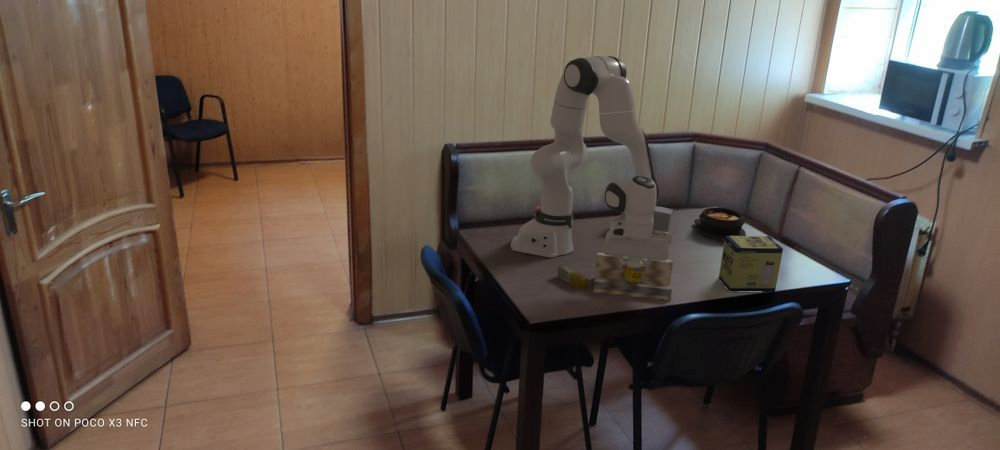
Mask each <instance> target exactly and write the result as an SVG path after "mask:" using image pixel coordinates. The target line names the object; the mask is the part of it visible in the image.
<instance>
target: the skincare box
mask: <svg viewBox="0 0 1000 450" xmlns="http://www.w3.org/2000/svg"><path fill="white" fill-rule="evenodd" d="M673 213H674V209H672V208H667V207H665V206H664V207H663V206H658V205H656V208H655V211H654V213H653V218H654V223H653V230H655V231H661V232H663V231H665V232H667V233H669V234H670V229H671V225H672V218H673ZM652 234H653V233H652ZM667 235H668V234H667Z"/></svg>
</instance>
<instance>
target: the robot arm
mask: <svg viewBox="0 0 1000 450" xmlns="http://www.w3.org/2000/svg"><path fill="white" fill-rule="evenodd" d="M627 74H628V73H627V67H626V64H625V63H624V61H623V60H622V59H621V58H618V57H615V56H611V55H610V56H605V55H594V56H589V57H588V56H587V57H577V58H575V59H572V60H570V61H568V63H567V64H566V65H565V67H564V70H563V73H562V75H561V77H560V80H559V81H558V84H557V88H556V91H555V96H554V100H553V106H552V109H551V116H550V126H551V127H552V128H553V130H554V141H553V142H552V143H549V144H547V145H543V146H541V147H540V148H538V149H537V150H536V151H534V152H533V153H532V155H531V157H530V166H531V169H532V172H533V173H534V174H535V175H536V176H537V177H538V180H539V183H540V189H541V191H540V192H541V195H540V206H538V205H537V206H535V208H534V214H533V215H534V216H533V218H532V219H531V220H529V221H528V222H526V223H524V224H522V226H521V227H520V229H519V230H518V233H517V235H516V236H514V237H513V238H512V240H511V242H510V249H511V250H512V251H514V252H519V253H524V254H528V255H529V254H530V255H534V256H535V255H536V256H540V257H545V258H556V257H558V256H564V255H568V254H570V253H572V252H573V251H574V245H573V238H572V227H573V222H574V221H573V220H574V212H573V201H574V189H573V188H572V187H571V186H570V185H569V183H568V177H567V176H568V173H569V172H571V171H574V170H576V169H578V168H580V167H581V166H582V165H583V164H584V163H585V162H586V161H587V158H588V155H589V150H588V147H587V144H585V142H584V136H583V135H584V133H583V132H584V124H585V123H584V122H585V118H586V113H587V108H588V104H589V103H588V102H589V98H590V95H592V94H593V95H594V96H596V98H597V101H598V112H599V126H600V130H601V132H602V134H604V136H605V137H606V138H607V139H609V140H611V141H612V142H615V143H617V144H621V145H623V146H625V147H626V148H627V149H628V150H629V152H630V154H631V157H632V162H633V163H632V164H633V166H634V171H635V176H633V177H632V178H629V179H622V180H616V181H612V182H609V184H608V185H607V186H606V187H605V190H604V191H605V192H604V202H605V204H606V206H607V207H608V209H610V210H611V211H613V212H616V213H622V212H623V213H625V220H620V221H615V222H614V221H612V222H610V224H609V230H608V231H607V233H606V235H605V238H604V242H603V247H602V253H604V254H605V255H613V256H618V260H619V262H620V264H621V269H625V266H626V262H623V260H622V259H623V257H637V258H641V259H647V263H646V264H643V266H642V271H645V272H647V267H648V266H649V265H650V264H651V261H652V260H660V261H666V260H669V253H670V252H669V246H670V245H671V244H672V238H673V237H672V235H671V234H670V232H669V233H667V232H665V231H663V232H661V231H655V230H653V223H654V218H653V213H654V211H655V208H656V206H657V202H658V200H659V197H660V188H659V185H658V182H657V179H656V177H655V173H654V167H653V163H652V158H651V157H652V156H651V153H650V148H649V147H650V146H649V142H648V139H647V135H646V133H645V131H644V129H642V127H640V125H639V122H638V119H637V114H636V104H635V96H634V92H633V87H632V84H631V82H630V80H629V79H628V78H627ZM652 233H653V234H652ZM667 234H668V235H667Z"/></svg>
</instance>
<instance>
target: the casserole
mask: <svg viewBox="0 0 1000 450" xmlns="http://www.w3.org/2000/svg"><path fill="white" fill-rule="evenodd" d="M698 217H699V218H697V219H695V220H693V221H694V223H695V229H696V231H698V232H699V233H700V234H703V235H705V236H707V237H710V238H714V239H716V240H718V241H720V242H721V241H722V242H724V241H725V236H747V234H746V231H745V229H743V225H745V224H746V221H745V219H744V216H743V214H742V213H740V212H739V211H736V210H734V209H730V208H725V207H724V208H723V207H709V208H705V209H703V210H702V212H701V213H700V214H699V215H698Z"/></svg>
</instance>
